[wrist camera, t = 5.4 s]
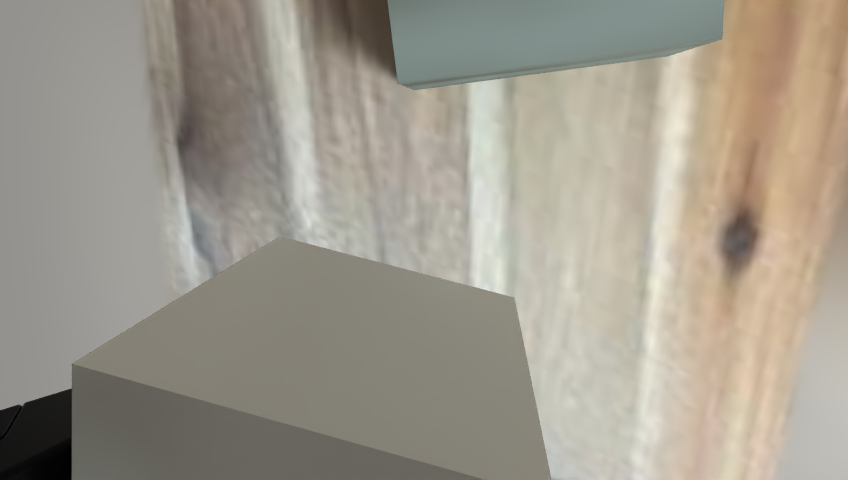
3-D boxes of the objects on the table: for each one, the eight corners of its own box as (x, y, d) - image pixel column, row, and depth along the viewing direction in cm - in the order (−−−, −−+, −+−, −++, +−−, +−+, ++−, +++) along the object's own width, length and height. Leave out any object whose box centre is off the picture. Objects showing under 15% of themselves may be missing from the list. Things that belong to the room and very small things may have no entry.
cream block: (514, 297, 9) (555, 498, 4) (453, 488, 11) (434, 798, 6) (279, 236, 9) (72, 364, 5) (251, 431, 11) (71, 683, 6)
